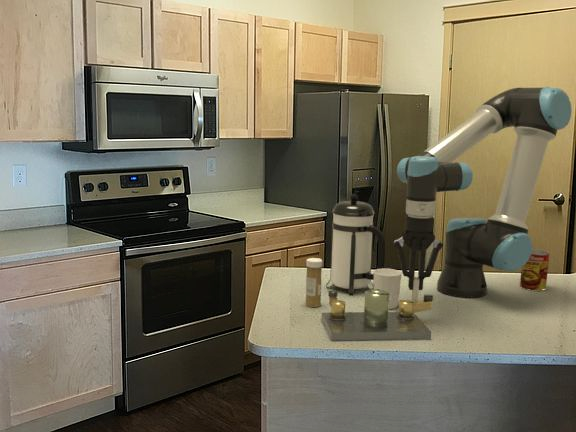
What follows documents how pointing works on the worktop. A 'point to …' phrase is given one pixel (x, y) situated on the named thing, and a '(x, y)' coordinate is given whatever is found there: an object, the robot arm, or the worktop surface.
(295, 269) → the worktop surface
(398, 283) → the white cup
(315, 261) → the sprinkles bottle
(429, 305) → the lever
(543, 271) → the canned food
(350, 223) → the coffee press
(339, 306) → the lever
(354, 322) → the base
